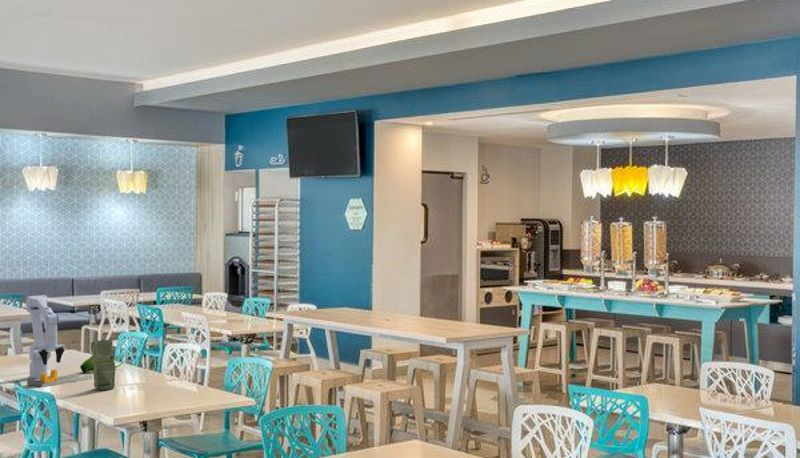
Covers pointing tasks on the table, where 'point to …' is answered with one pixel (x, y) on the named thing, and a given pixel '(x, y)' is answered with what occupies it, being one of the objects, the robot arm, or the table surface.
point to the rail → (40, 384)
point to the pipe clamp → (49, 377)
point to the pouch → (103, 364)
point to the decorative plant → (89, 362)
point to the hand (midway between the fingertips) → (51, 363)
